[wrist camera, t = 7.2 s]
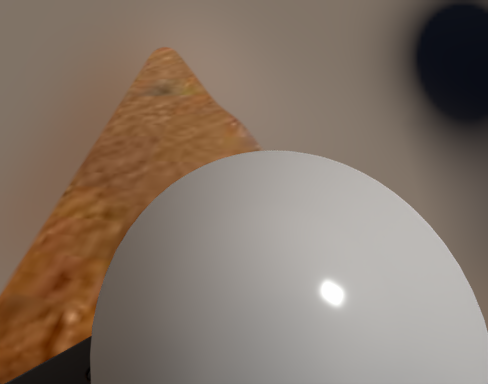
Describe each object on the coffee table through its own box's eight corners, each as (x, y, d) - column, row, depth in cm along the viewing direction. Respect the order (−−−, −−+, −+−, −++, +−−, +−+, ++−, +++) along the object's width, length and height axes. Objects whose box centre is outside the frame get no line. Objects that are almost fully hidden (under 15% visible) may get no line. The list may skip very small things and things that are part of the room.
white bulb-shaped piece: (285, 387, 13) (605, 675, 1) (209, 376, 13) (-7, 562, 2) (286, 304, 15) (430, 164, 3) (221, 296, 15) (158, 139, 4)
